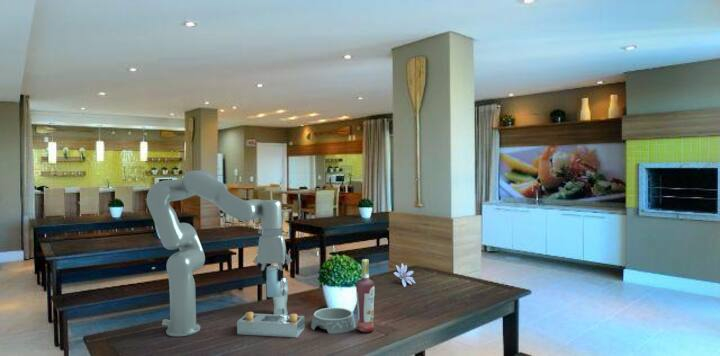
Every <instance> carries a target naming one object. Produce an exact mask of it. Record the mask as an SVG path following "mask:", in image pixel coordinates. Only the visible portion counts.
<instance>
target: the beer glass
mask: <svg viewBox="0 0 720 356" xmlns="http://www.w3.org/2000/svg"><path fill="white" fill-rule="evenodd" d="M288 296H289V280H288V278H286V277H283V278H282V280H281V281H280V296H278V297H272V299H273V304H274V305H273V307H274V308H273V314H275V315H288V313H289V312H288V307H287V305H288V304H287V303H288V298H289V297H288Z"/></svg>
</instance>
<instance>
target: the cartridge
mask: <svg viewBox="0 0 720 356" xmlns="http://www.w3.org/2000/svg"><path fill="white" fill-rule="evenodd" d="M278 271H279V266H278V265H276V263H274V264H271V265H268V266H267V265H266V281H265V282H266V283H265V284H266V297H267V298H273V297H278V296H280V281H279V280H278Z"/></svg>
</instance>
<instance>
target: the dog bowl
mask: <svg viewBox="0 0 720 356" xmlns="http://www.w3.org/2000/svg"><path fill="white" fill-rule="evenodd" d="M312 314H313V315H312V319H311V323H310V328H311V329H312V330H313V331H315V329H316V328H317V327H319V329H322V330H326V331H327V333H328V334H329V335H331V334H343V333H347V332H350V331H353V330H355V328H357V326H356V325H357V323H356V319H355V315H354V312H353V311H352V310H350V309H348V308H345V307H344V308H343V307H324V308H320V309H317V310H316V311H314V313H312Z"/></svg>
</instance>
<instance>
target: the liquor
mask: <svg viewBox="0 0 720 356" xmlns="http://www.w3.org/2000/svg"><path fill="white" fill-rule="evenodd" d="M369 265H370V264H369V259H368V258H362V259H361V266H362V269H361V279H359V280H357V281H356V282H355V290H356V294H355V295H356V306H357V308H356V309H357V326H356V329H357V330H359V332H361V333H371V332H372V331H373V330H374V329H375V325H374V309H375V308H374V305H375V284H376V283H375V282H374V281H373V280H372V279H370V274H369Z"/></svg>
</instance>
